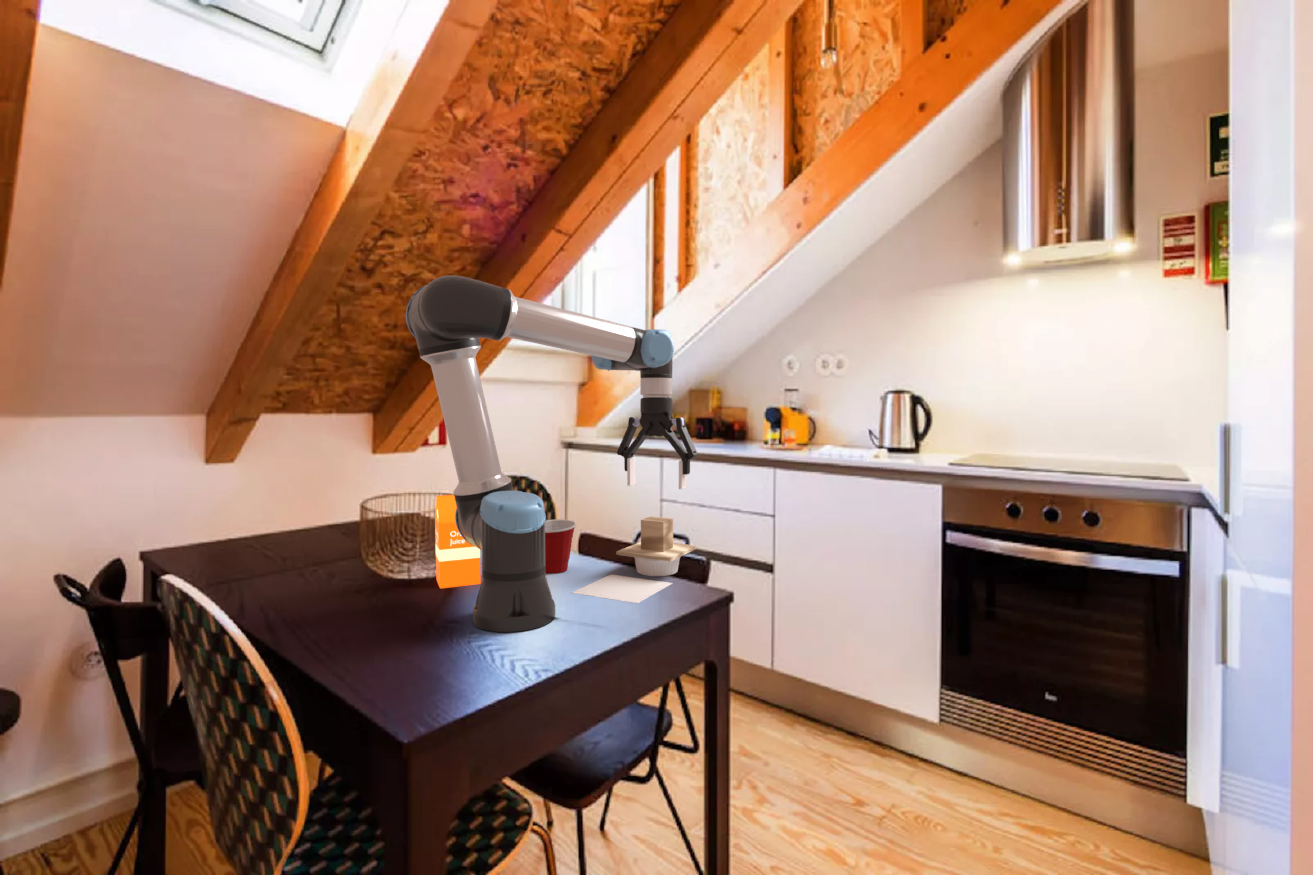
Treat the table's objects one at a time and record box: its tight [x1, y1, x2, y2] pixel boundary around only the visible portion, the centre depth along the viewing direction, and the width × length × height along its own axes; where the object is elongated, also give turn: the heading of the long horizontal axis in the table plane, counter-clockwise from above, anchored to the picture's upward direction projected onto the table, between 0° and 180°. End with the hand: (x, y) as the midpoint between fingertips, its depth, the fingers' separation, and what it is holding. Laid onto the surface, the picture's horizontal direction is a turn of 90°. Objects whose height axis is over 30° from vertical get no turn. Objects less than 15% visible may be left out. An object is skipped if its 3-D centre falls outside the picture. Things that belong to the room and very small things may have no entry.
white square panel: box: [571, 574, 673, 604], centre depth 140 cm, size 16×16×1 cm
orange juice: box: [434, 494, 482, 589], centre depth 147 cm, size 8×9×20 cm
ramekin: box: [633, 557, 681, 577], centre depth 154 cm, size 11×11×5 cm
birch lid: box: [615, 516, 697, 562], centre depth 154 cm, size 14×14×8 cm
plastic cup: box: [545, 518, 577, 575], centre depth 155 cm, size 11×11×12 cm
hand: (656, 487), depth 153 cm, fingers open, 13 cm apart
